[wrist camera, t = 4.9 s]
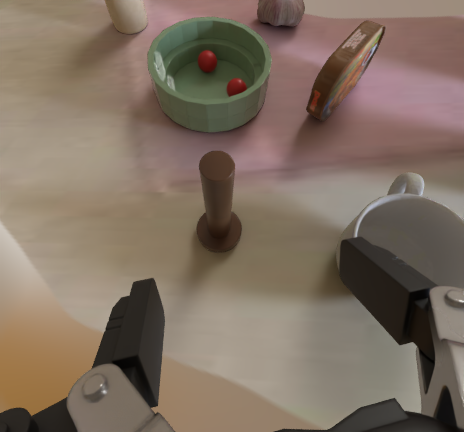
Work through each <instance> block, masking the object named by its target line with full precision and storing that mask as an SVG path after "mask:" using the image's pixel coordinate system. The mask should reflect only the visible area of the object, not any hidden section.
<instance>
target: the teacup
mask: <svg viewBox="0 0 464 432" xmlns="http://www.w3.org/2000/svg"><path fill="white" fill-rule="evenodd" d="M423 189H424V180H423V178H422V177H421V176H420V175H418V174H415V173H403V174H401V175H399V176H398V177H397V178H396V179H395V180H394V182H393V183H392V185H391V187H390V189H389V191H388V194H387V196H384V197H380V198H378V199H376V200H374V201H372V202H371V203H370V204H368V205H367V206H366V207H365V208H364V209H363V210H362V211H361V213H360V214H359V215H358V216H357V217H356V218H355V219H354V220H353V221H352V222H351V223H350V224H349V225H348V227H347V228H346V229H345V230H344V232H343V234H342V235H341V237H340V239H339V242H338V246H337V252H336V259H337V265H338V270H339V261H340V244H341V241H342V240H344V239H349V238H354V237H359V236H360V237H363V238H364V239H365V240H367V241H368V242H370V243H371V244H372V245H376V246H379V247H381V248H384V249H386V250H389V251H390V252H391V253H393V254H394V255H396V256H397V257H398V258H399V259H401V260H403V261H404V262H406V263H407V265H410V266H411V267H413V268H414V269H416V270H417V271H418V272H420V273H421V274H423V275H424V276H425V277H427V278H428V279H430V280H431V281H433V282H434V283H435V284H437V285H438V286H442V285H446V286H454V287H458V288H462V289H464V220H463V219H462V218H461V217H460V216H459V215H458V214H456V213H455V212H454V211H453V210H451V209H450V208H448V207H447V206H445V205H443V204H441V203H439V202H437V201H435V200H432V199H430V198H427V197H424V196H422V193H423Z"/></svg>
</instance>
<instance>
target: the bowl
mask: <svg viewBox="0 0 464 432" xmlns="http://www.w3.org/2000/svg"><path fill="white" fill-rule="evenodd" d="M205 50H209V51H212V52H213V53H214V54H215V56H216V58H217V66H216V68H215V70H214V71H212V72H210V73H206V72H203V71H202V70H201V69H200V68H199V65H198V57H199V55H200V53H201V52H203V51H205ZM271 62H272V58H271V55H270V51H269V47H268V45H267V44H266V43H265V41H264V40H263V39H262V37H261V36H260V35H259V34H257V33H256V32H255V31H253V30H252V29H250V28H249V27H248V26H246V25H244V24H241V23H239V22H236V21H234V20H230V19H224V18H218V17H198V18H192V19H188V20H184V21H181V22H178V23H176V24H174V25H172V26H170V27H168V28H167V29H165V30H163V31H162V32H161V33H160V34H159V35H158V36H157V37H156V38H155V39H154V40H153V42H152V45H151V47H150V49H149V52H148V70H149V74H150V77H151V80H152V84H153V87H154V91H155V94H156V97H157V100H158V102H159V104H160V106H161V108H162V110H163V112H164V113H165V114H166V115H168V116H169V117H170V118H171V119H172V120H173V121H174V122H176V123H178V124H180V125H182V126H184V127H186V128H188V129H191V130H196V131H202V132H220V131H228V130H231V129H234V128H237V127H239V126H242V125H244V124H245V123H247V122H248V121H249V120H250V119H252V118H253V117H254V116H256V115H257V113H258V112H259V110H260V109H261V107H262V105H263V104H264V100H265V95H266V89H267V84H268V79H269V74H270V68H271ZM234 78H240V79H242V80H243V81H244V82H245V84H246V86H247V90H245V91H244V92H242V93H239V94H237V95H234V96H231V97H229V96H228V94H227V85H228V83H229V81H230V80H232V79H234Z"/></svg>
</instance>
